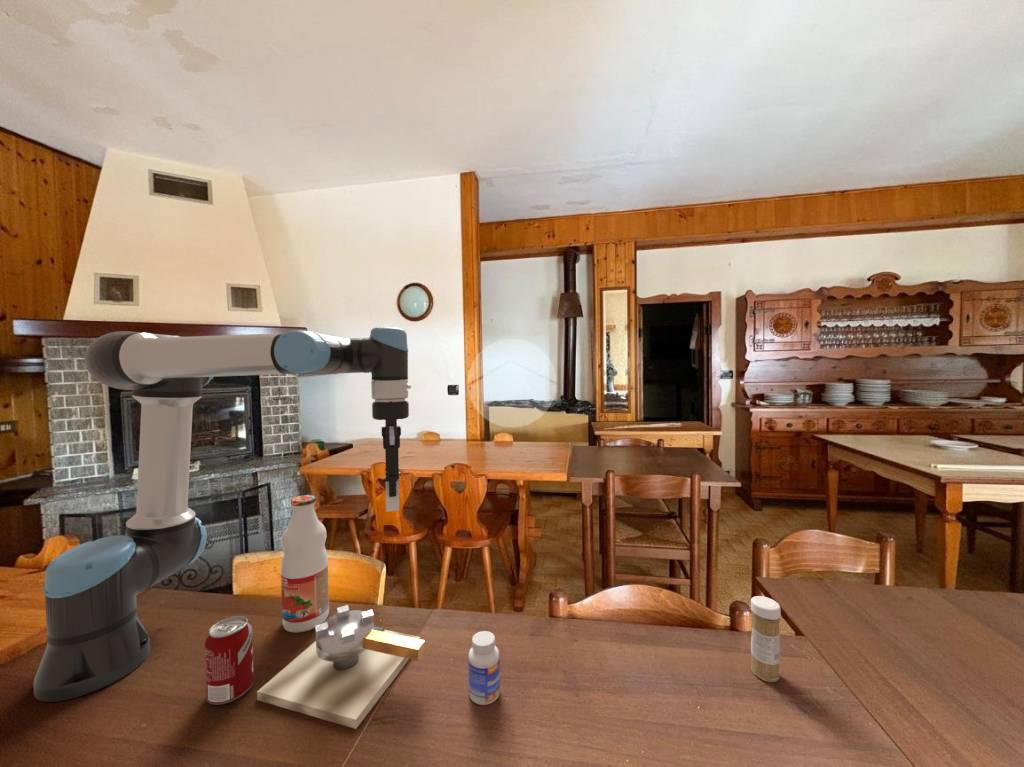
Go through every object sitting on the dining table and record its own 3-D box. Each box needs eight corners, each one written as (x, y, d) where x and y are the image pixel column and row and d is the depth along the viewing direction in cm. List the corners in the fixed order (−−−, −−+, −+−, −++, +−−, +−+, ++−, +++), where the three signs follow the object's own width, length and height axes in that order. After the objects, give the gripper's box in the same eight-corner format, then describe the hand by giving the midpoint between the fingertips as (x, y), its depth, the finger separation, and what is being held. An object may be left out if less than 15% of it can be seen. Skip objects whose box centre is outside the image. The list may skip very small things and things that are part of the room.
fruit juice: (336, 617, 90) (334, 496, 89) (293, 640, 82) (289, 508, 82) (317, 603, 96) (314, 489, 95) (275, 622, 88) (271, 499, 88)
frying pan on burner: (303, 655, 71) (302, 632, 70) (342, 621, 80) (341, 601, 80) (406, 680, 65) (405, 655, 65) (435, 640, 74) (434, 618, 74)
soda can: (229, 711, 65) (227, 640, 65) (196, 705, 66) (193, 635, 66) (263, 680, 72) (261, 615, 71) (232, 675, 73) (230, 611, 73)
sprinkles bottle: (762, 662, 75) (762, 592, 75) (786, 679, 71) (786, 606, 70) (744, 668, 73) (745, 597, 73) (767, 687, 69) (768, 611, 69)
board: (257, 700, 67) (256, 671, 67) (339, 627, 87) (338, 604, 86) (356, 729, 62) (355, 697, 62) (420, 644, 81) (420, 620, 81)
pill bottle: (492, 710, 65) (491, 652, 65) (463, 701, 67) (462, 645, 66) (504, 685, 70) (504, 632, 70) (477, 677, 72) (476, 625, 72)
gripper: (411, 402, 79) (413, 518, 79) (406, 397, 93) (408, 496, 93) (371, 403, 76) (373, 523, 77) (372, 398, 90) (374, 500, 91)
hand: (392, 508), depth 85 cm, fingers open, 2 cm apart
